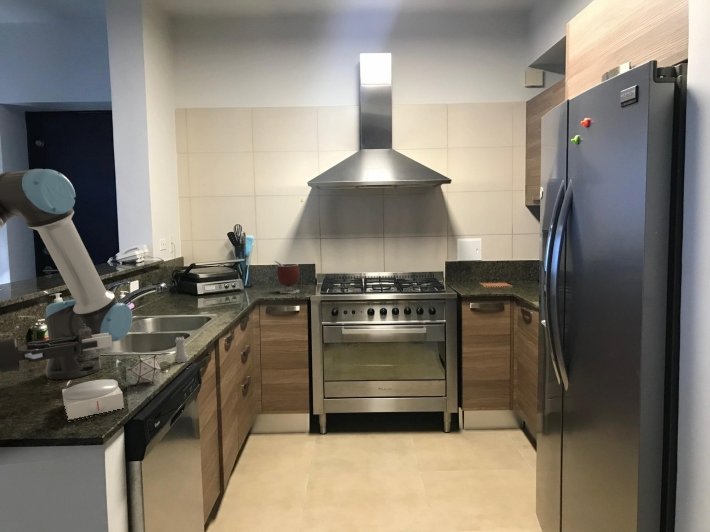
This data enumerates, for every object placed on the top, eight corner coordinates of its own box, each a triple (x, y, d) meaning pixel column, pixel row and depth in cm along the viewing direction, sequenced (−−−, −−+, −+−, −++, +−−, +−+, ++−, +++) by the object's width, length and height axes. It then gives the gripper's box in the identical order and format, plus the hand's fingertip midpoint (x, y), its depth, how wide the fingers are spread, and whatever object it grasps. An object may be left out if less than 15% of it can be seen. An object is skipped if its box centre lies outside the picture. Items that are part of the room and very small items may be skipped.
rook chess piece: (176, 359, 163) (174, 336, 163) (190, 358, 164) (188, 335, 163) (172, 363, 159) (170, 339, 158) (186, 362, 159) (184, 338, 159)
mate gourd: (303, 290, 312) (301, 259, 310) (296, 293, 298) (294, 261, 296) (280, 290, 315) (278, 259, 313) (272, 294, 301) (270, 261, 299)
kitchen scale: (63, 404, 126) (61, 385, 126) (114, 393, 133) (113, 375, 132) (68, 422, 114) (66, 401, 114) (124, 408, 121) (122, 389, 121)
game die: (148, 397, 139) (135, 377, 132) (130, 383, 143) (117, 363, 136) (173, 375, 144) (162, 355, 137) (155, 362, 148) (143, 341, 141)
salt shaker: (90, 374, 119) (85, 326, 118) (69, 373, 120) (64, 326, 119) (106, 367, 125) (102, 321, 124) (87, 366, 126) (82, 321, 125)
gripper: (0, 364, 119) (106, 347, 132) (-2, 381, 105) (117, 360, 119) (-3, 334, 118) (104, 320, 132) (-6, 347, 105) (114, 330, 118)
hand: (110, 339), depth 125 cm, fingers closed on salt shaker, 4 cm apart
